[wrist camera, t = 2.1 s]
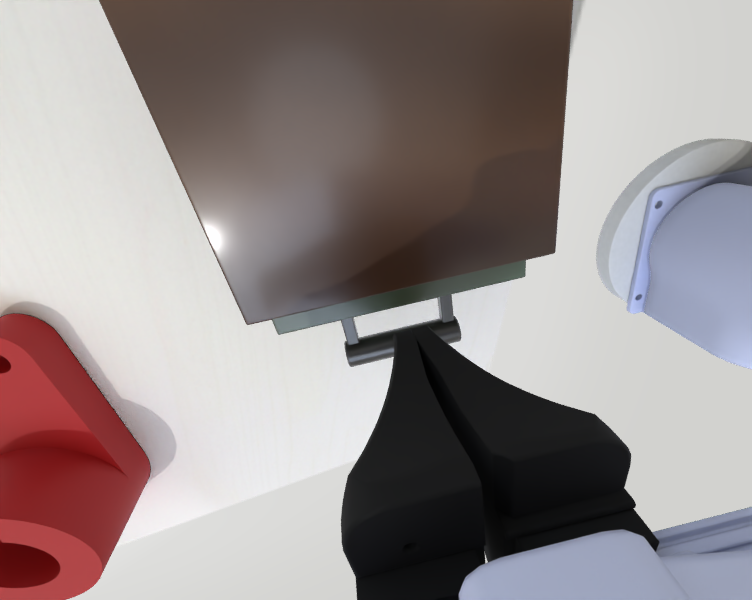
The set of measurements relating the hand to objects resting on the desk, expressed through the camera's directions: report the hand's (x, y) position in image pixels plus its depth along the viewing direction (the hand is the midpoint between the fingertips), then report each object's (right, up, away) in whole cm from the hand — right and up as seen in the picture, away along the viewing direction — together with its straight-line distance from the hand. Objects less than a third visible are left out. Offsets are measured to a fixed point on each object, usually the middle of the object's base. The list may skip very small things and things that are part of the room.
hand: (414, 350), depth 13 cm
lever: (-23, -7, +11) cm, 27 cm away
